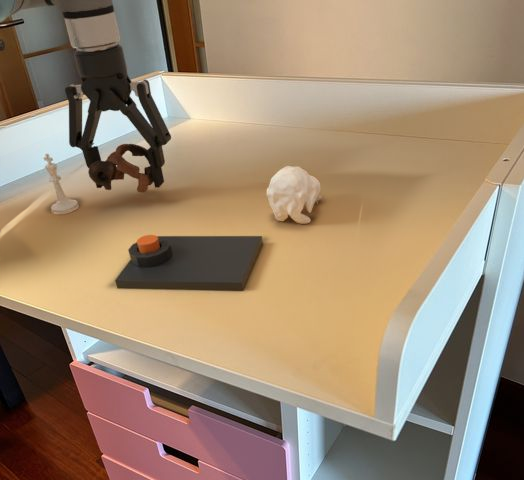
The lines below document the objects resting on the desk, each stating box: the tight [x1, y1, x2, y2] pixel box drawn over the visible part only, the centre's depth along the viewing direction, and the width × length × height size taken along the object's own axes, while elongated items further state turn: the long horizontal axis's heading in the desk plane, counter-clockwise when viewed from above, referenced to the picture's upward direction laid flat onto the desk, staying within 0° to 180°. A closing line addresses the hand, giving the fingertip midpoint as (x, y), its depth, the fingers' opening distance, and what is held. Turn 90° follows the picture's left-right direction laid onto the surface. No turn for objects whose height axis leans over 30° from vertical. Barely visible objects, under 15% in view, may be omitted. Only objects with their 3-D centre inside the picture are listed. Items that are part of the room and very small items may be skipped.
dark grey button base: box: [114, 235, 264, 292], centre depth 80 cm, size 18×13×3 cm
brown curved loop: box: [88, 143, 154, 194], centre depth 99 cm, size 12×10×8 cm
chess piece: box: [43, 153, 80, 215], centre depth 100 cm, size 5×5×10 cm
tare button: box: [136, 234, 160, 253], centre depth 80 cm, size 3×3×2 cm
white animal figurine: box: [266, 165, 323, 225], centre depth 88 cm, size 6×8×12 cm
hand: (130, 184), depth 100 cm, fingers closed on brown curved loop, 10 cm apart
